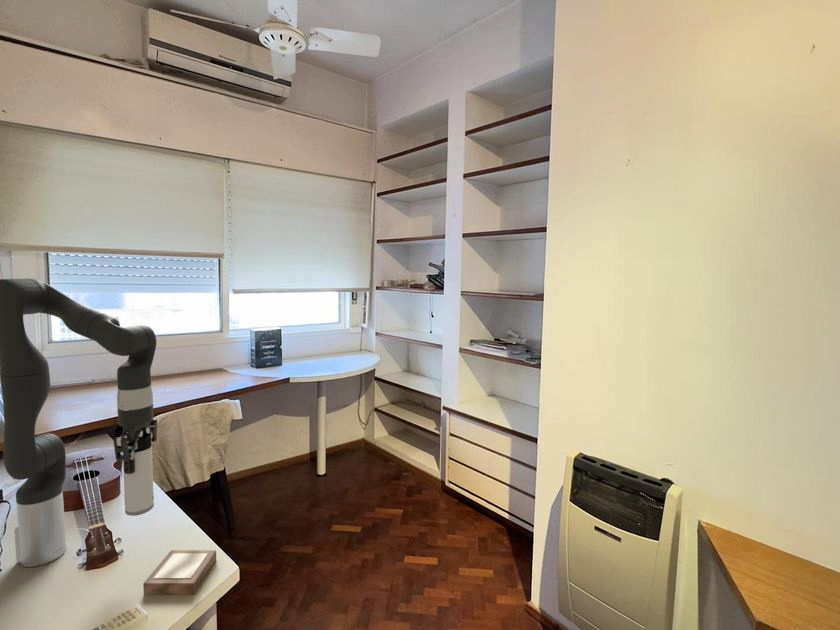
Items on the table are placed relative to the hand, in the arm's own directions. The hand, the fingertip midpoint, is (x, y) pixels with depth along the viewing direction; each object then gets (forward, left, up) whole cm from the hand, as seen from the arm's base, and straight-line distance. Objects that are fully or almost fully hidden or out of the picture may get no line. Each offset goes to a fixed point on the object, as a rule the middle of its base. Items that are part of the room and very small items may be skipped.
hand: (138, 466), depth 108 cm
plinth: (+12, -4, -28) cm, 31 cm away
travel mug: (0, 0, -12) cm, 12 cm away
